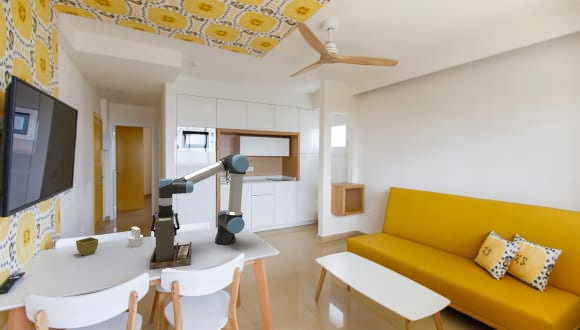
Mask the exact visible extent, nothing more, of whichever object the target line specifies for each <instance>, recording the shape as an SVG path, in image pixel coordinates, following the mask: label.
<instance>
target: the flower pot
mask: <svg viewBox="0 0 580 330" xmlns="http://www.w3.org/2000/svg"><path fill="white" fill-rule="evenodd" d="M75 245H76V246H75V247H76V250H77V252H78V253H79V254H80V255H82V256H90V255H92V254H95V252H96V251H97V248H98V245H99V238H95V237H92V236H90V237H86V238H82V239H78V240H75Z"/></svg>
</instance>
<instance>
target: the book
mask: <svg viewBox="0 0 580 330" xmlns="http://www.w3.org/2000/svg"><path fill="white" fill-rule="evenodd" d="M172 211H173V213H175V211H174V210H173V209H172ZM158 213H159V210H157V214H158ZM174 222H175V217H174V215H172V216H171V217H170V218H160V217H159V216H157V218H156V220H155V225H154V229H155V233H156V237H155V247H156V259H155V263H160V262H170V261H174V253H175V250H174V245H175V241H174V224H175V223H174Z"/></svg>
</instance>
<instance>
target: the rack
mask: <svg viewBox="0 0 580 330" xmlns="http://www.w3.org/2000/svg"><path fill="white" fill-rule="evenodd" d="M188 245H189V254H188V259H187V260H180V261H177V258H178V253H179V250H180V247H181V246H188ZM154 247H155V248H154V250H153V251H152V254H151V256H150V258H149V270H157V269H168V268H176V267H184V266H185V267H186V266H191V264H192V263H191V262H192V241H189V243H186V244H179V242H176V244H174V261H170V262H160V263H156V246H154Z"/></svg>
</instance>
